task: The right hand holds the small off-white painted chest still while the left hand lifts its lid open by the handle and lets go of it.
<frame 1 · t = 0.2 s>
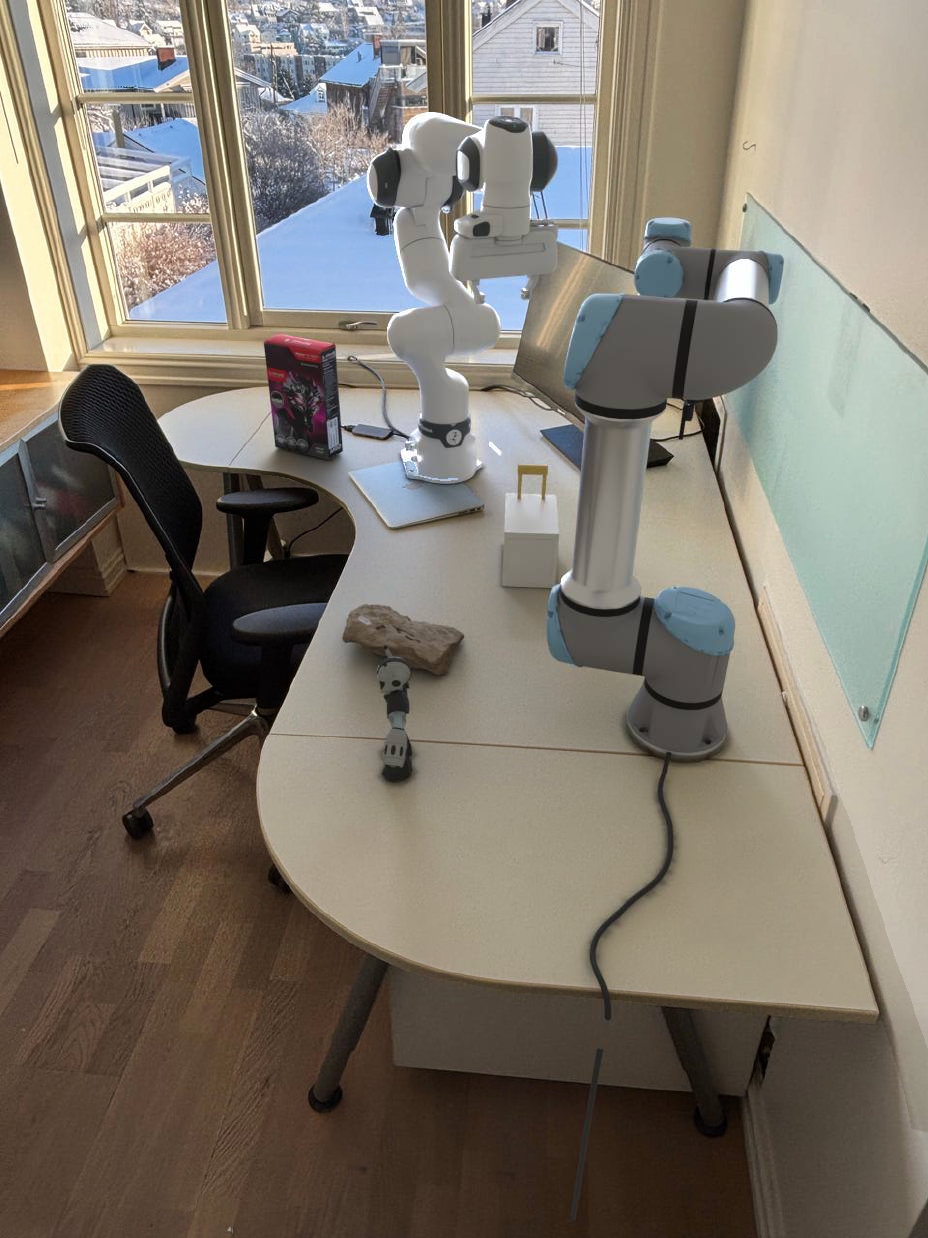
left hand: (502, 301, 171), 48 cm above the table, tool pointing down, fingers open, 8 cm apart
right hand: (643, 432, 170), 28 cm above the table, tool pointing down, fingers open, 13 cm apart
stone: (398, 651, 160), on the table
graphics card box: (309, 450, 231), on the table
robot: (397, 763, 136), on the table
lid: (532, 498, 176), point 15 cm above the table, hinge at 0.0°
chest: (528, 566, 184), on the table
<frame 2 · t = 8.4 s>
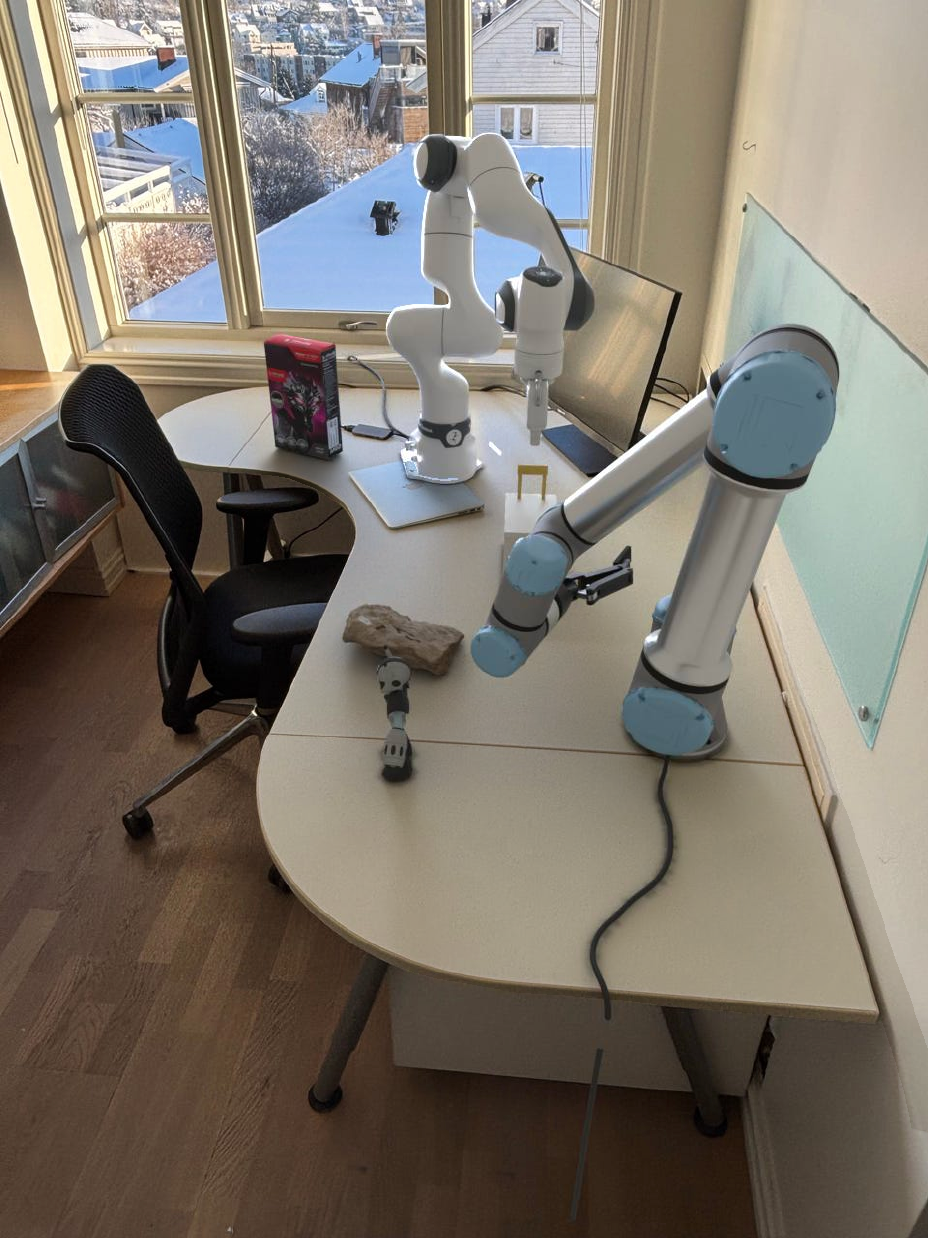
left hand: (534, 434, 176), 25 cm above the table, tool pointing down, fingers open, 8 cm apart
right hand: (589, 548, 152), 19 cm above the table, tool horizontal, fingers open, 13 cm apart
nothing on the table moved.
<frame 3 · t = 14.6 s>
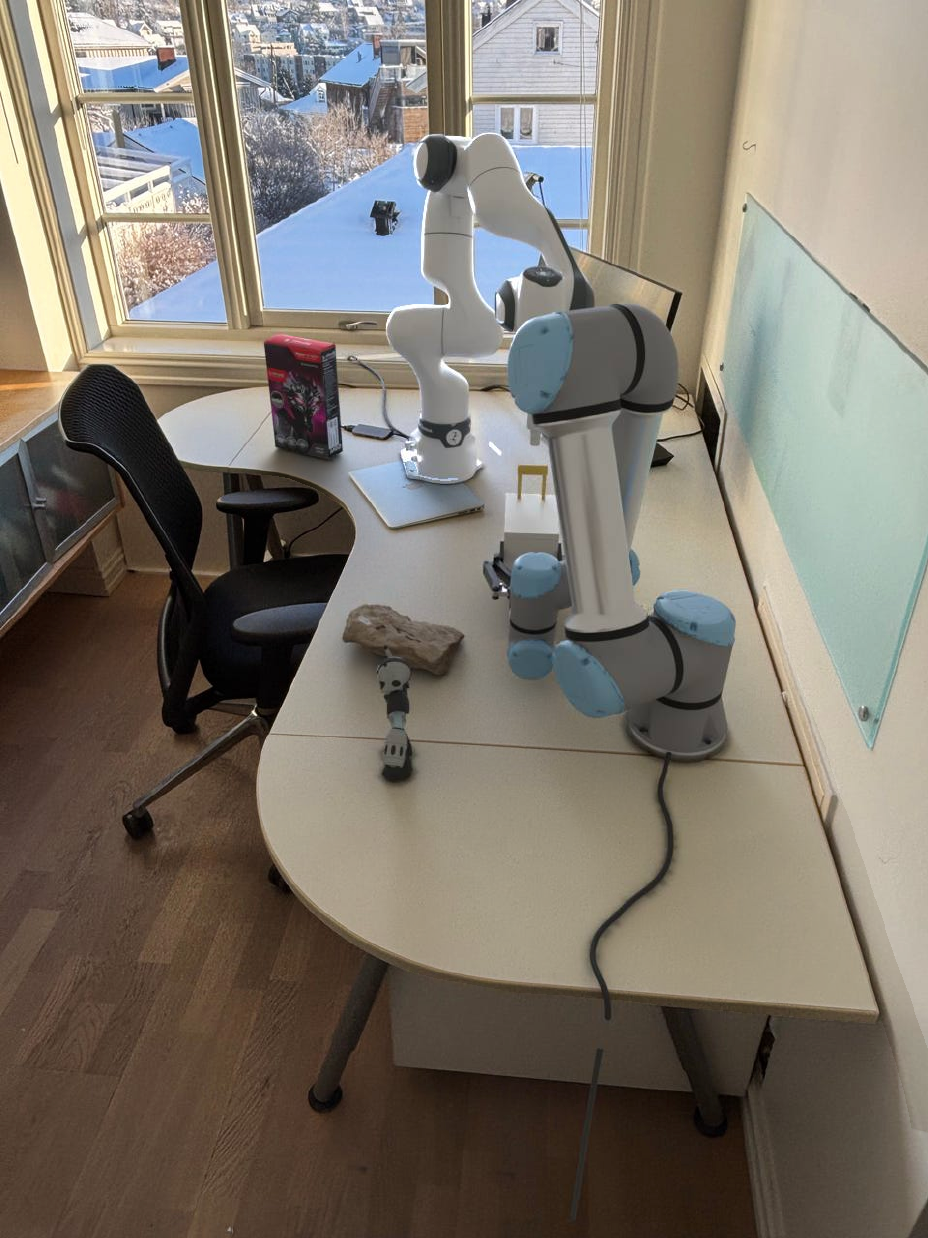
left hand: (534, 434, 176), 25 cm above the table, tool pointing down, fingers open, 8 cm apart
right hand: (530, 548, 177), 7 cm above the table, tool horizontal, fingers closed on chest, 10 cm apart
chest: (528, 566, 184), on the table, touching right hand
everything else where it was.
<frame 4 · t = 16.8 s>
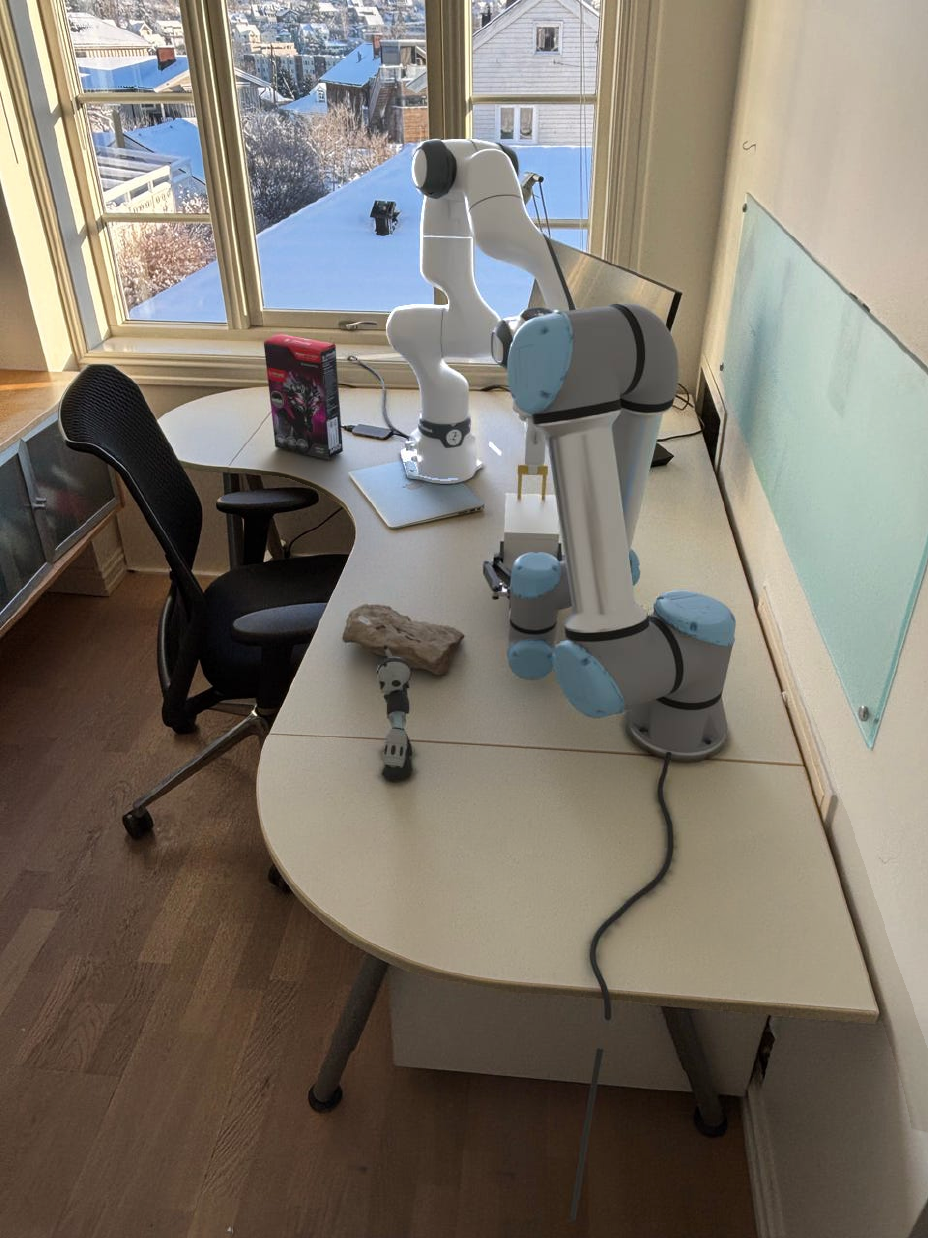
left hand: (532, 468, 180), 18 cm above the table, tool pointing down, fingers closed on lid, 2 cm apart
right hand: (530, 548, 177), 7 cm above the table, tool horizontal, fingers closed on chest, 10 cm apart
lid: (532, 498, 176), point 15 cm above the table, hinge at -0.1°, touching left hand
chest: (528, 566, 184), on the table, touching right hand
everything else where it was.
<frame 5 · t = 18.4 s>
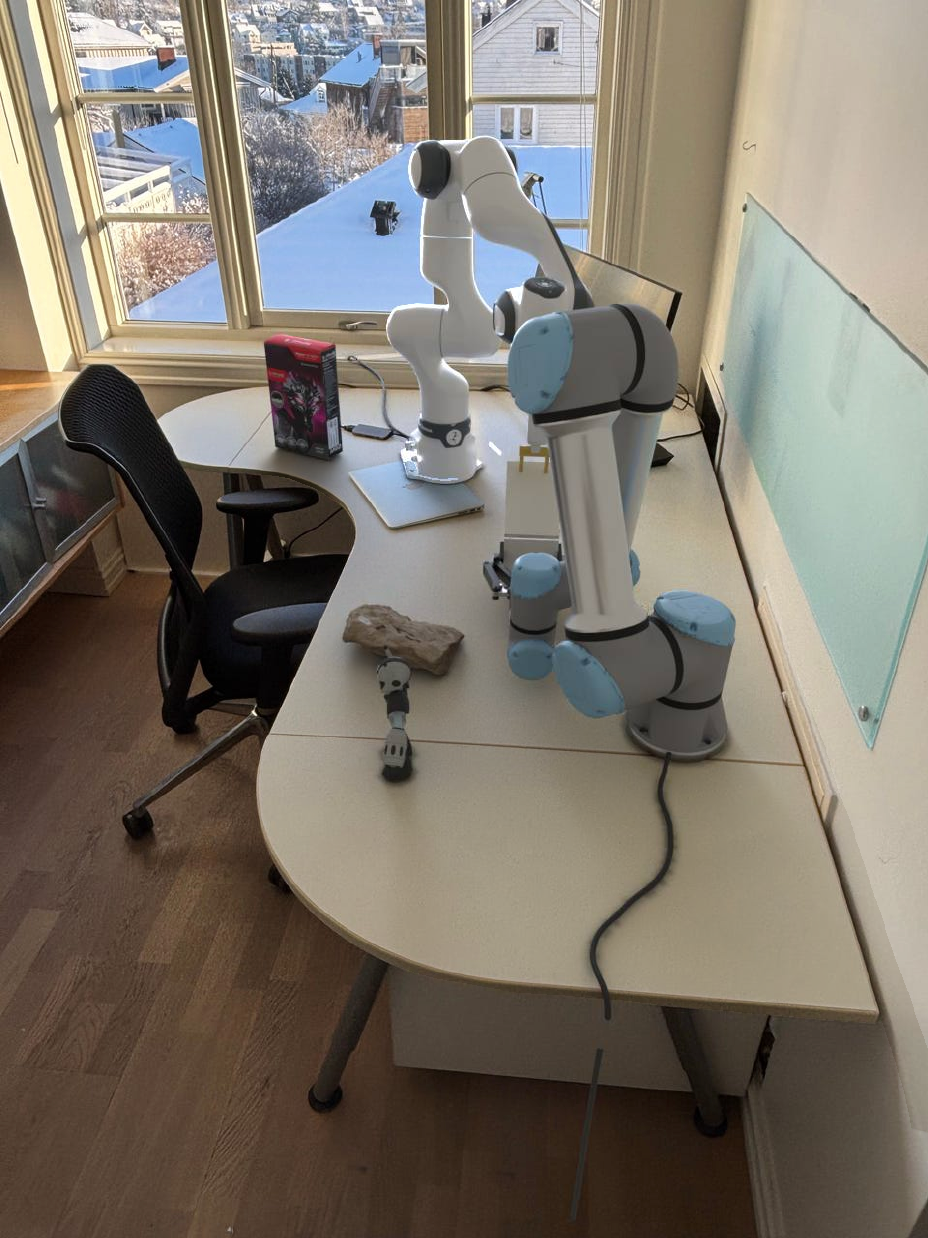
left hand: (535, 448, 171), 25 cm above the table, tool pointing down, fingers closed
right hand: (530, 548, 176), 7 cm above the table, tool horizontal, fingers closed on chest, 10 cm apart
lid: (533, 488, 172), point 18 cm above the table, hinge at 29.6°, touching left hand
chest: (528, 566, 184), on the table, touching right hand
everything else where it was.
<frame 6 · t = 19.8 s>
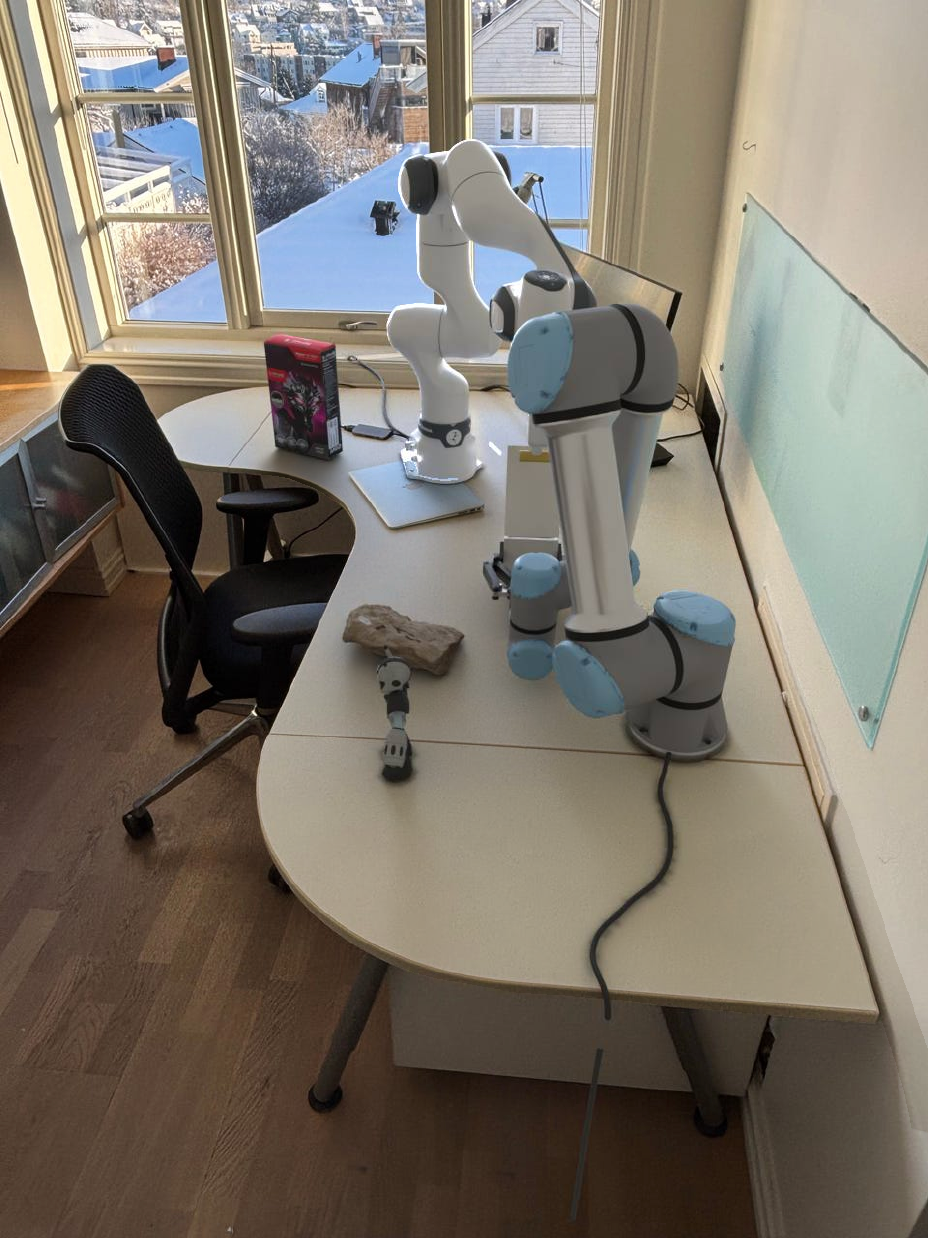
left hand: (536, 451, 162), 28 cm above the table, tool pointing down, fingers closed, pressing on lid
right hand: (530, 548, 176), 7 cm above the table, tool horizontal, fingers closed on chest, 10 cm apart
lid: (534, 491, 167), point 20 cm above the table, hinge at 63.6°, touching left hand
chest: (528, 566, 184), on the table, touching right hand
everything else where it was.
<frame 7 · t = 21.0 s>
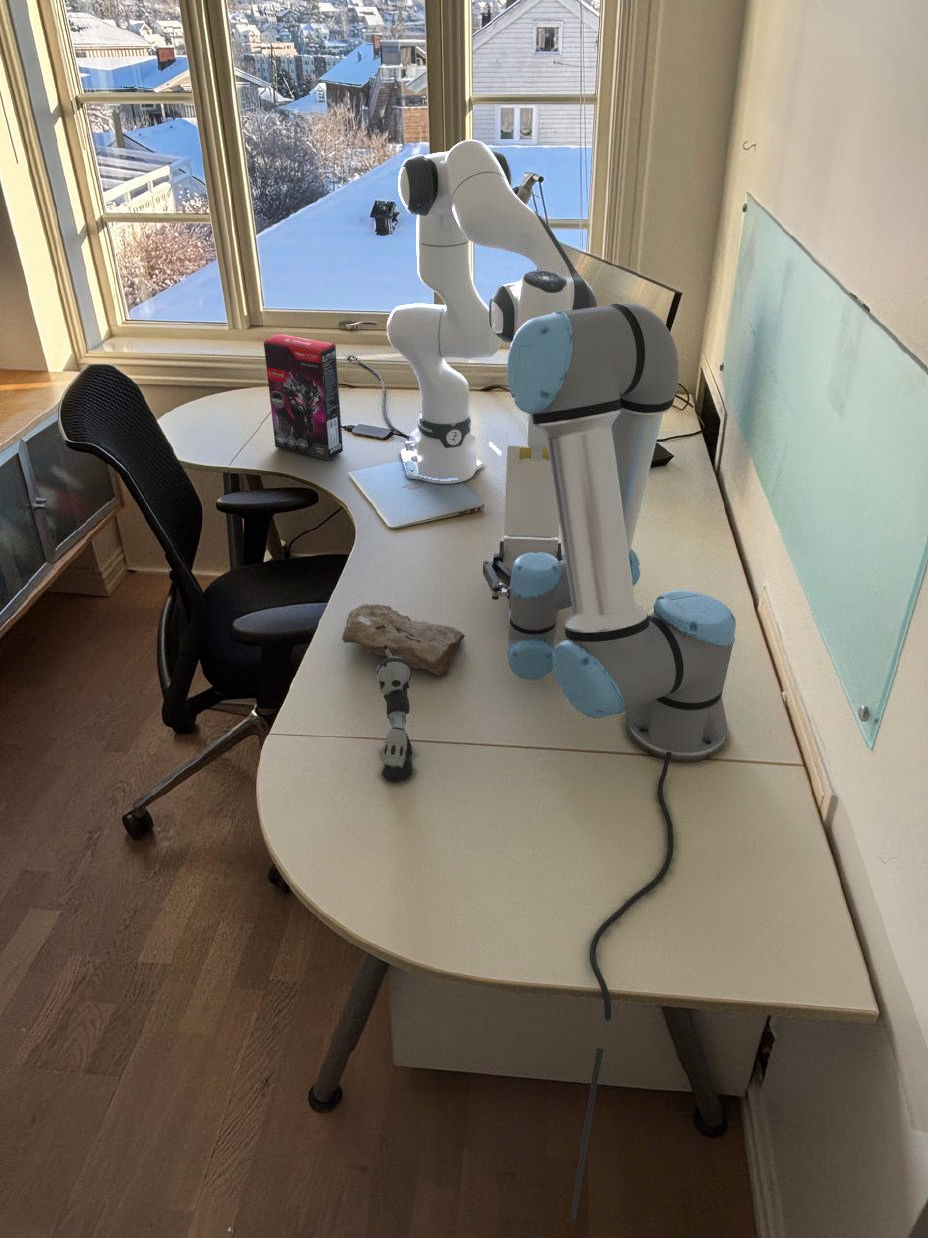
left hand: (536, 451, 162), 28 cm above the table, tool pointing down, fingers open, 5 cm apart
right hand: (530, 548, 177), 7 cm above the table, tool horizontal, fingers closed on chest, 10 cm apart
lid: (533, 489, 168), point 20 cm above the table, hinge at 57.1°
chest: (528, 566, 184), on the table, touching right hand
everything else where it was.
when the right hand's fingers open (7 cm above the table, at t = 24.3 s): chest stays where it is, on the table.
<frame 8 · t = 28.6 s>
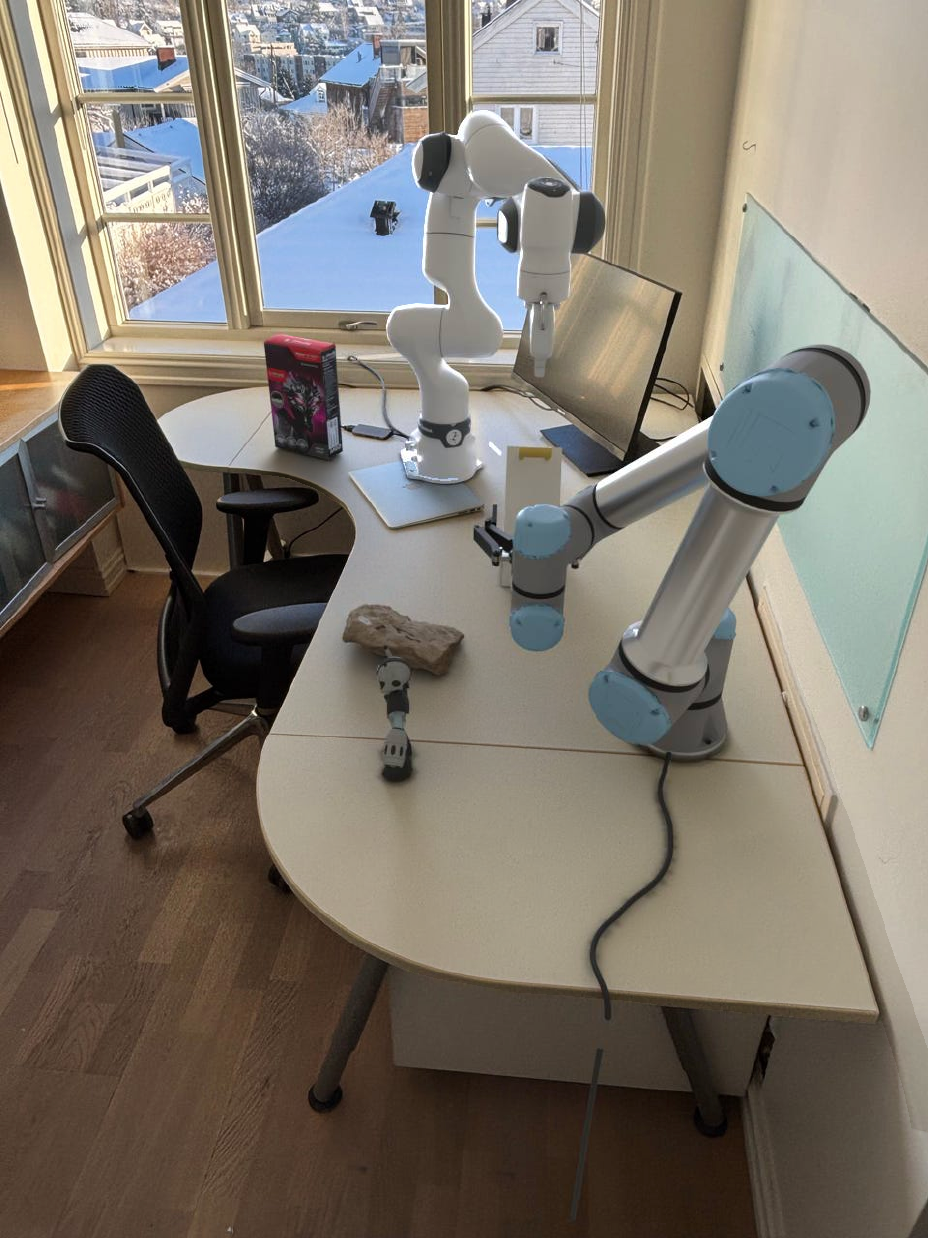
left hand: (539, 366, 162), 40 cm above the table, tool pointing down, fingers open, 8 cm apart
right hand: (534, 512, 157), 21 cm above the table, tool horizontal, fingers open, 13 cm apart
lid: (533, 488, 168), point 20 cm above the table, hinge at 56.1°
chest: (528, 566, 184), on the table
everything else where it was.
at the end: lid at +56° (first picture: +0°); the left hand is holding nothing; the right hand is holding nothing; chest tilted 0°; chest never tilted more than 1° during the clip; chest moved 0.1 cm from its start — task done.
